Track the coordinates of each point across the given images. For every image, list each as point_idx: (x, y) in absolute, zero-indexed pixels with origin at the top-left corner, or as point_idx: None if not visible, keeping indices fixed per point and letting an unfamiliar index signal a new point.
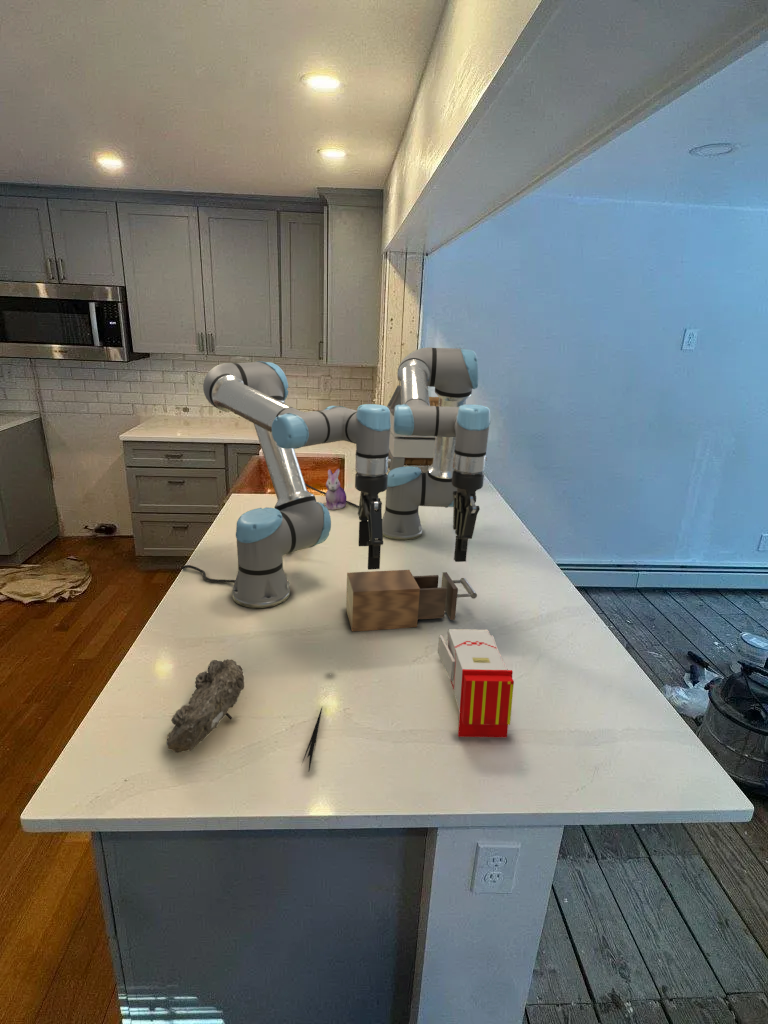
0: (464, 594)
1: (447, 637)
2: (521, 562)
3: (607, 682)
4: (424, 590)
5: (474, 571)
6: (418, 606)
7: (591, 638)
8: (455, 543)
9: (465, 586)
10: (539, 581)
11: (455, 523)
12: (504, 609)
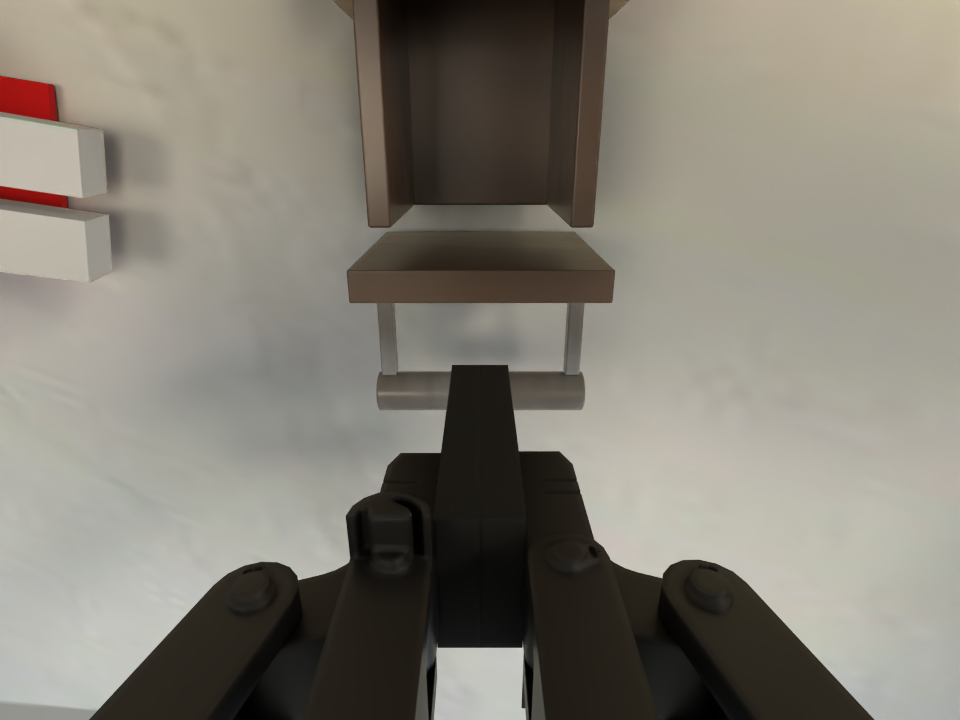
0: (386, 340)
1: (95, 129)
2: (861, 699)
3: (10, 623)
4: (356, 36)
5: (858, 502)
6: (334, 1)
7: None
8: (513, 452)
9: None
10: None
11: (720, 680)
12: None
